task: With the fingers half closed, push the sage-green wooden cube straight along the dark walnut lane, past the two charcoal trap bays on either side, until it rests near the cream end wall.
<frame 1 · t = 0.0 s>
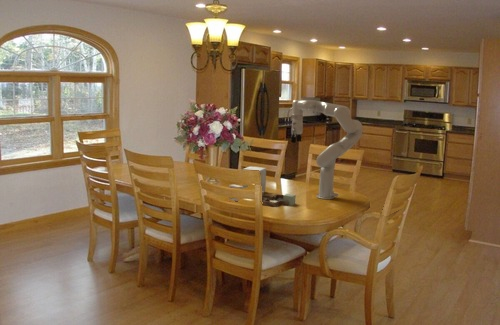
hand: (296, 141, 348), 37 cm above the table, tool pointing down, fingers open, 9 cm apart
block: (289, 204, 319), on the table
supplement box: (253, 192, 351), on the table
ink box: (235, 203, 316), on the table
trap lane: (275, 201, 324), on the table
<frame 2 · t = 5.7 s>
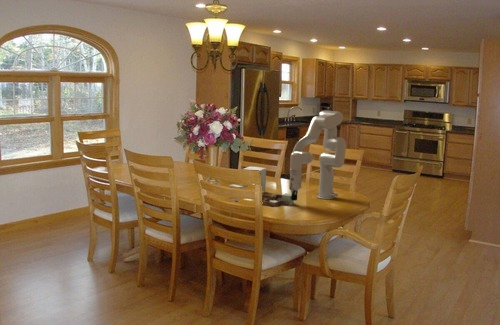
hand: (294, 200, 317), 3 cm above the table, tool pointing down, fingers closed
block: (287, 203, 320), on the table, touching gripper
everything else where it was.
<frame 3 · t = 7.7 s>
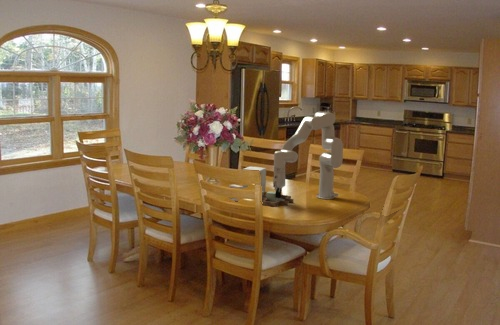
hand: (278, 197, 323), 3 cm above the table, tool pointing down, fingers closed
block: (271, 201, 325), on the table, touching gripper
everything else where it was.
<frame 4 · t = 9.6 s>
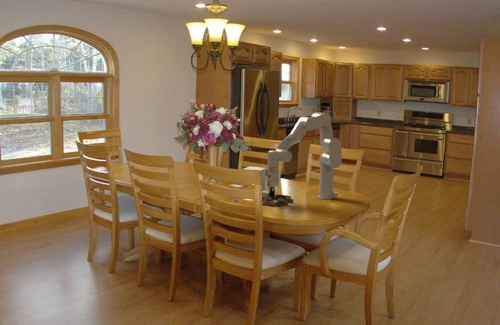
hand: (271, 196, 325), 3 cm above the table, tool pointing down, fingers closed
block: (265, 200, 327), on the table
everything else where it was.
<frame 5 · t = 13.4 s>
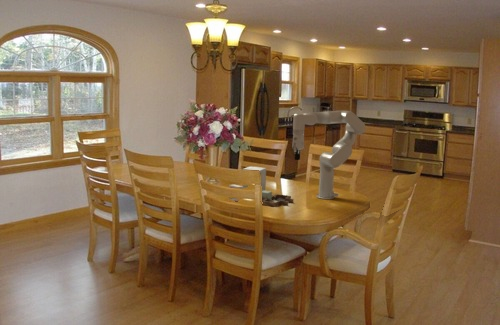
hand: (297, 159, 329), 27 cm above the table, tool pointing down, fingers closed
nothing on the table moved.
at the end: block 0.4 cm from the target spot on the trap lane, point 0.0 cm above the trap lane's base; block tilted 0° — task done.
